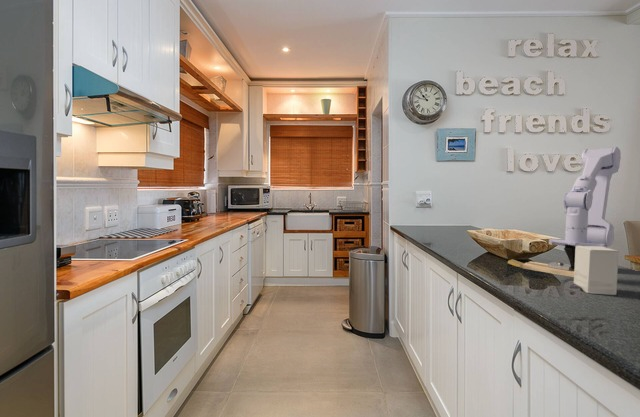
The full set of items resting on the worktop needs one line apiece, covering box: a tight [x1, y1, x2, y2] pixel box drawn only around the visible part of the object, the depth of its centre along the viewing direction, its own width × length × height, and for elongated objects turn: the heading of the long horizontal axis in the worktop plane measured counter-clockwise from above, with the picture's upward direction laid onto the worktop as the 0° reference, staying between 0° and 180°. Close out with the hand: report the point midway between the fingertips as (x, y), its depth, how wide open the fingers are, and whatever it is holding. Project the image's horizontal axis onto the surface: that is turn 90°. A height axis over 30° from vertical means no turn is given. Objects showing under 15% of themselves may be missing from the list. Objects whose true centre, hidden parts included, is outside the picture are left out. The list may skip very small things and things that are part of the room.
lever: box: [507, 258, 525, 268], centre depth 122 cm, size 4×1×5 cm
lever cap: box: [547, 261, 571, 270], centre depth 111 cm, size 5×6×2 cm
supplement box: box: [573, 245, 620, 296], centre depth 95 cm, size 7×7×13 cm
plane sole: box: [519, 260, 574, 278], centre depth 114 cm, size 7×17×2 cm, turn 39°
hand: (574, 268), depth 108 cm, fingers closed
